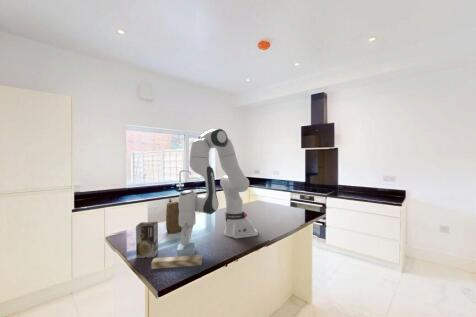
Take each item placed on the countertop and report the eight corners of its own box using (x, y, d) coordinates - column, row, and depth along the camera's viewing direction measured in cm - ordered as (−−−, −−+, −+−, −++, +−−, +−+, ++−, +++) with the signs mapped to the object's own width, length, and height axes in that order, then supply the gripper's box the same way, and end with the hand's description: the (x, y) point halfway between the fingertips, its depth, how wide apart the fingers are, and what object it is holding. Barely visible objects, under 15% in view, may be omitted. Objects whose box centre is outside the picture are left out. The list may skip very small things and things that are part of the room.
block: (167, 234, 137) (167, 204, 138) (165, 231, 144) (165, 202, 144) (184, 231, 143) (184, 202, 143) (181, 228, 149) (181, 200, 150)
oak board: (201, 261, 100) (201, 254, 100) (201, 265, 96) (201, 258, 96) (153, 264, 97) (153, 258, 98) (151, 268, 94) (151, 262, 94)
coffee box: (158, 252, 111) (158, 221, 111) (154, 257, 105) (154, 225, 105) (141, 252, 111) (140, 221, 111) (135, 258, 104) (135, 225, 104)
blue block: (194, 252, 111) (194, 242, 111) (193, 259, 103) (193, 248, 103) (178, 253, 109) (178, 243, 109) (176, 260, 101) (176, 250, 102)
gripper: (191, 226, 102) (191, 255, 102) (194, 215, 123) (194, 239, 122) (178, 227, 102) (178, 256, 101) (183, 216, 122) (183, 240, 122)
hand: (187, 246), depth 112 cm, fingers closed
